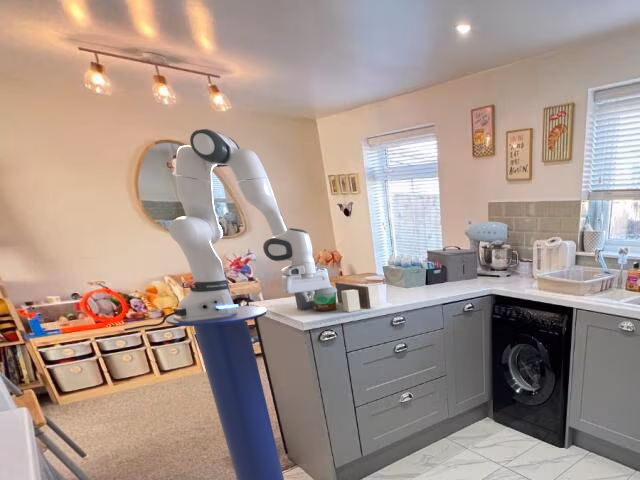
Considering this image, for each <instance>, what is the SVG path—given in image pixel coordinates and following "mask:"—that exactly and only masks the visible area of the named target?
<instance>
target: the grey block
mask: <svg viewBox="0 0 640 480" xmlns="http://www.w3.org/2000/svg"><path fill="white" fill-rule="evenodd" d="M307 293H308V291H307ZM307 296H308V297H309V296H310V293H308V294H307ZM294 298H295V303H296V308H297V310H300V311H307V310H314V307H313V303H312V301H309V302H306V298H305V297H304V296H303V294H302V292H297V293H294Z"/></svg>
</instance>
